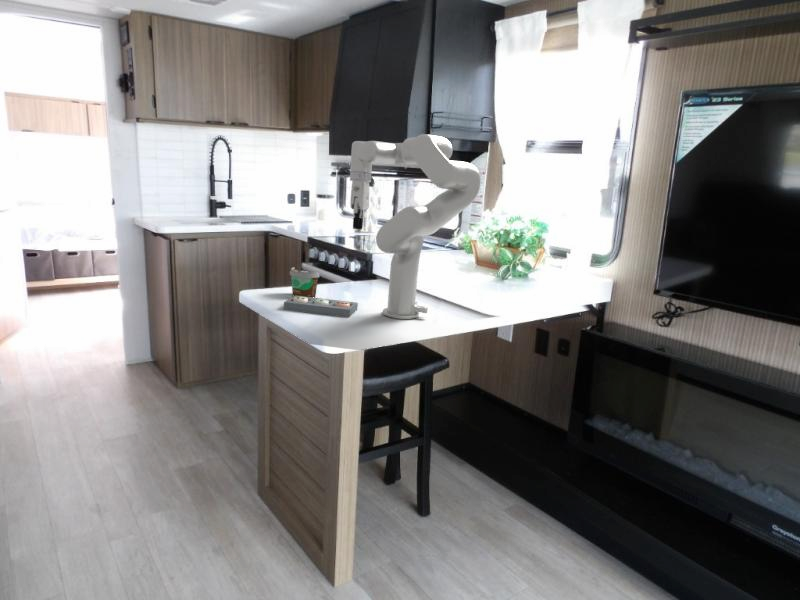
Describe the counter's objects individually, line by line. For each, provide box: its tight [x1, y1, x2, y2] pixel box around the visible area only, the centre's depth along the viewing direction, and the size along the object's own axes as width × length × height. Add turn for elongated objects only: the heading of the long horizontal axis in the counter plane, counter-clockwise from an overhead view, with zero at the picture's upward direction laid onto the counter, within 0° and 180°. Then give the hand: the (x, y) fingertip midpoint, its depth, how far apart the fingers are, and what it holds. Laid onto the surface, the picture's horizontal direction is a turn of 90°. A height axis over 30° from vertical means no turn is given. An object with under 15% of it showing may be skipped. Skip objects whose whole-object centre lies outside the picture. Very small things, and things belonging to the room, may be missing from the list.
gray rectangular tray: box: [283, 295, 359, 318], centre depth 194 cm, size 23×11×3 cm, turn 80°
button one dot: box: [314, 298, 329, 305], centre depth 194 cm, size 5×5×3 cm
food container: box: [289, 266, 320, 298], centre depth 210 cm, size 12×6×10 cm, turn 62°
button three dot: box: [335, 301, 350, 308], centre depth 193 cm, size 5×5×3 cm
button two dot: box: [293, 297, 308, 303], centre depth 195 cm, size 5×5×3 cm
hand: (357, 228), depth 204 cm, fingers closed
